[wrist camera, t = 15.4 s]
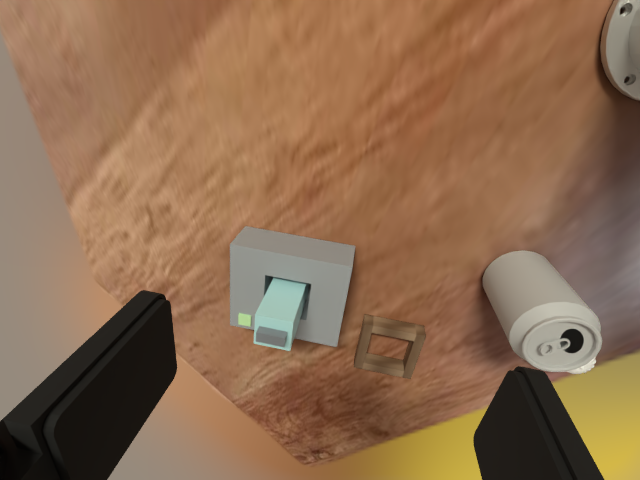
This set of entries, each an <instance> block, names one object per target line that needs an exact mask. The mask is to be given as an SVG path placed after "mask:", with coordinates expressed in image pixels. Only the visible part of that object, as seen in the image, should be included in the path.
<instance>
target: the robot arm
mask: <svg viewBox="0 0 640 480" xmlns="http://www.w3.org/2000/svg"><path fill="white" fill-rule="evenodd" d="M621 8H622V13H621V14H620V9H621ZM600 50H601V62H602V65H603V68H604V71H605V74H606V76H607V77H608V79H609V80H610V82H611V84H612V85H613V86H614V87H615V88H616V89H617V90H618V91H620V92H621V93H622V94H624V95H626V96H628V97H630V98H632V99H634V100H638V101H640V0H614V1H613V3H612V6H611V8H610V10H609V12H608V14H607V17H606V20H605V24H604V27H603V30H602V37H601V45H600ZM625 78H626V80H625V82H624V79H625ZM176 370H177V362H176V352H175V342H174V333H173V323H172V314H171V304H170V302H169V301H168V300H166V298H165V296H164V295H163V294H160V293H155V292H150V291H145V290H143V291H140V292H139V293H138V294H137V295H136V296H134V297H133V298H132V299H131V300H130V301H129V302H128V303H127V304H126V305H125V306H124V307H123V308H122V309H121V310H120V311H118V312H117V313H116V314H115V315H114V316H113V317H112V318H111V319H110V320H109V321H108V322H107V323H106V324H104V325H103V326H102V327H101V328H100V329H99V330H98V331H97V332H96V333H95V334H94V335H93V336H92V337H90V338H89V339H88V340H87V341H86V342H85V343H84V344H83V345H82V346H81V347H79V348H78V349H77V350H76V351H75V352H74V353H73V354H72V355H71V356H70V357H69V358H68V359H67V360H66V361H64V362H63V363H62V364H61V365H60V366H59V367H58V368H57V369H56V370H55V371H54V372H53V373H52V374H50V375H49V376H48V377H47V378H46V379H45V380H44V381H43V382H42V383H41V384H40V385H39V386H38V387H37V388H35V389H34V390H33V391H32V392H31V393H30V394H29V395H28V396H27V397H26V398H25V399H24V400H23V401H22V402H20V403H19V404H18V405H17V406H16V407H15V408H14V409H13V410H12V411H11V412H10V413H9V414H8V415H7V416H6V417H4V418H3V419H2V420H1V421H0V480H107V479H108V477H109V476H110V474H111V473H112V471H113V470H114V468H115V467H116V465H117V464H118V462H119V461H120V459H121V458H122V456H123V455H124V453H125V452H126V450H127V449H128V447H129V446H130V444H131V443H132V441H133V440H134V438H135V437H136V435H137V434H138V432H139V431H140V429H141V427H142V426H143V425H144V423H145V422H146V420H147V418H148V417H149V415H150V414H151V412H152V411H153V409H154V408H155V406H156V405H157V403H158V402H159V400H160V399H161V397H162V396H163V394H164V393H165V391H166V390H167V388H168V386H169V385H170V384H171V382H172V381H173V379H174V377H175V374H176ZM474 448H475V452H476V456H477V460H478V464H479V468H480V472H481V476H482V480H604V478H603V476H602V475H601V473H600V471H599V469H598V467H597V465H596V464H595V462H594V460H593V458H592V456H591V455H590V453H589V451H588V449H587V447H586V445H585V444H584V442H583V440H582V438H581V436H580V435H579V433H578V431H577V429H576V427H575V425H574V423H573V422H572V420H571V418H570V416H569V414H568V412H567V411H566V409H565V407H564V405H563V403H562V402H561V400H560V398H559V396H558V394H557V392H556V391H555V389H554V387H553V385H552V383H551V381H550V380H549V378H548V376H547V375H546V373H545V372H543V371H540V370H535V369H530V368H525V367H519V366H518V367H516V368H515V369H514V371H511V370H510V371H508V373H507V374H506V376H505V378H504V379H503V381H502V383H501V385H500V387H499V389H498V391H497V392H496V394H495V396H494V398H493V400H492V402H491V404H490V405H489V407H488V409H487V411H486V413H485V415H484V416H483V418H482V420H481V422H480V424H479V426H478V428H477V429H476V431H475V434H474Z"/></svg>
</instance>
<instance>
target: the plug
mask: <svg viewBox="0 0 640 480" xmlns="http://www.w3.org/2000/svg"><path fill="white" fill-rule="evenodd" d="M308 288H309V283H304V282H298V281H293V280H288V279H283V278H278V277H274V278H273V280H272V282H271V284H270V286H269V288H268V290H267V292H266V294H265V296H264V298H263V300H262V302H261V304H260V306H259V308H258V310H257V312H256V314H255V327H254V344H259V345H263V346H268V347H273V348H278V349H283V350H287V351H290V350H291V347H292V344H293V340H294V337H295V334H296V331H297V328H298V324H299V321H300V318H301V315H302V312H303V309H304V305H305V302H306V299H307V296H308Z"/></svg>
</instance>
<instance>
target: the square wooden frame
mask: <svg viewBox="0 0 640 480" xmlns="http://www.w3.org/2000/svg"><path fill="white" fill-rule="evenodd" d="M371 333H375V334H380V335H385V336H390V337H395V338H400V339H405V340H410V341H409V344H408V347H407V350H406V353H405V356H404V359H403V360H399V359H394V358H389V357H385V356H380V355H375V354H370V353H366V352H367V348H368V345H369V341H370V337H371ZM425 337H426V334H425V328H424V326H422V325H417V324H412V323H407V322H402V321H397V320H392V319H387V318H382V317H377V316H371V315H366V314H365V315H364V319H363V324H362V328H361V332H360V336H359V341H358V345H357V349H356V353H355V359H354V367H355V368H360V369H365V370H370V371H374V372H379V373H384V374H389V375H393V376H398V377H403V378H408V379H411V377H412V374H413V371H414V368H415V365H416V363H417V360H418V357H419V354H420V351H421V349H422V346H423V343H424V340H425Z"/></svg>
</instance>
